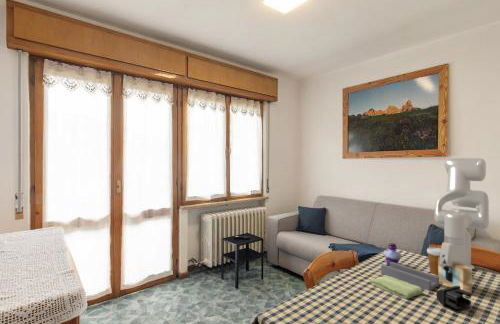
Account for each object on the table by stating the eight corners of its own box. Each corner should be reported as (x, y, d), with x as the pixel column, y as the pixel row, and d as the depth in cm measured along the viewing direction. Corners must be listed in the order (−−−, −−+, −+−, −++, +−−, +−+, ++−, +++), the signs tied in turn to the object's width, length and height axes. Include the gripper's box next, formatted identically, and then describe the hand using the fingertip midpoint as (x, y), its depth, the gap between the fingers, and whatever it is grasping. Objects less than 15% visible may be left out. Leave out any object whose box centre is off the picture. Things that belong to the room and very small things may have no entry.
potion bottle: (401, 264, 147) (401, 243, 147) (400, 269, 140) (401, 246, 140) (384, 261, 152) (384, 240, 152) (382, 266, 144) (382, 244, 145)
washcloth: (386, 279, 128) (386, 272, 129) (424, 295, 113) (424, 287, 113) (368, 284, 122) (368, 277, 122) (406, 302, 107) (406, 294, 107)
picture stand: (391, 269, 140) (391, 261, 140) (439, 285, 121) (439, 276, 122) (381, 273, 135) (381, 265, 135) (428, 290, 116) (429, 281, 116)
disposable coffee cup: (441, 270, 140) (441, 247, 140) (453, 277, 131) (453, 253, 131) (422, 269, 141) (422, 246, 141) (433, 276, 132) (433, 252, 132)
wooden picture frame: (446, 279, 128) (446, 257, 128) (471, 294, 114) (472, 268, 114) (437, 279, 128) (438, 257, 128) (462, 294, 114) (462, 268, 114)
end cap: (451, 299, 109) (452, 283, 109) (471, 308, 102) (471, 290, 102) (435, 303, 105) (436, 286, 105) (455, 313, 99) (455, 295, 99)
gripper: (464, 238, 125) (464, 277, 125) (430, 238, 124) (430, 277, 124) (479, 243, 118) (479, 284, 118) (443, 242, 117) (442, 284, 117)
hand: (454, 280), depth 121 cm, fingers closed on wooden picture frame, 4 cm apart
